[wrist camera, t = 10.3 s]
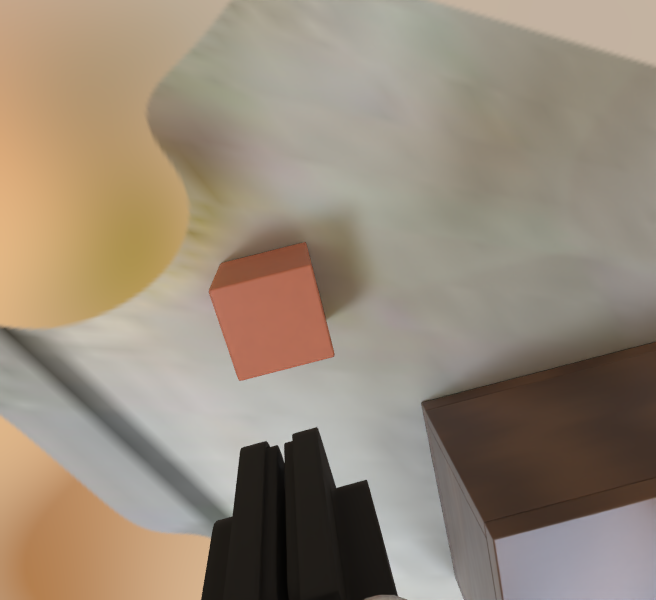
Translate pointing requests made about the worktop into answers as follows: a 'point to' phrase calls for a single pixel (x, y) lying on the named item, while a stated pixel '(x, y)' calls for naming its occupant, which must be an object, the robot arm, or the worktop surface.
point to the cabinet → (552, 481)
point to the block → (271, 311)
